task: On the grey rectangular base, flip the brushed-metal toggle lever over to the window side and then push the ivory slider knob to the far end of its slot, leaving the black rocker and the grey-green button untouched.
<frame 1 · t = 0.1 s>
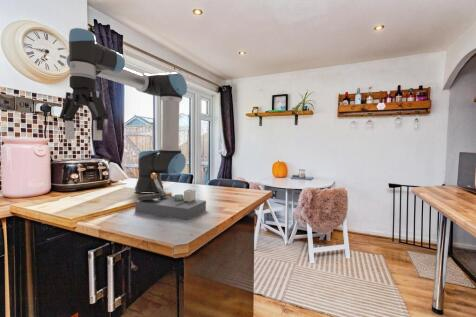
hand: (83, 139, 83), 28 cm above the worktop, fingers open, 13 cm apart
grey rectangular base: (171, 210, 97), on the worktop
lever: (158, 185, 101), point 10 cm above the worktop, hinge at -30.0°
slider: (189, 195, 98), point 6 cm above the worktop, slide at 0.0 cm
rocker: (149, 196, 96), point 6 cm above the worktop, hinge at 10.0°
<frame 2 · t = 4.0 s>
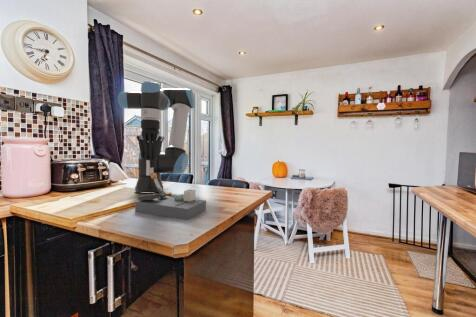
hand: (149, 175, 102), 14 cm above the worktop, fingers closed
lever: (158, 185, 101), point 10 cm above the worktop, hinge at -30.0°, touching gripper
everything else where it was.
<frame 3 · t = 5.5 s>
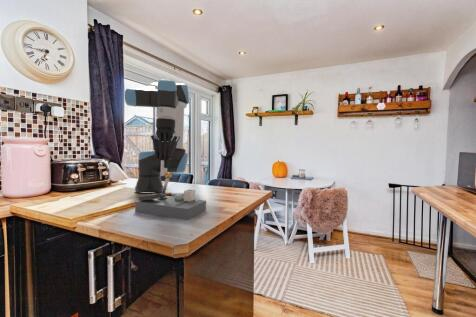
hand: (163, 175, 99), 14 cm above the worktop, fingers closed
lever: (165, 185, 99), point 10 cm above the worktop, hinge at 18.8°, touching gripper
everything else where it was.
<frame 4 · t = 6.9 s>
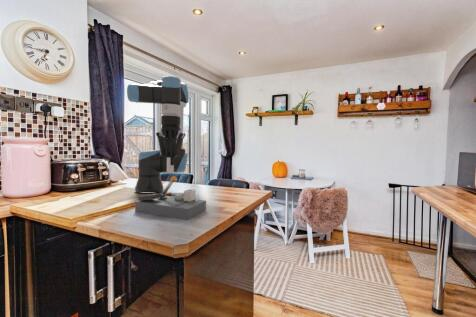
hand: (170, 172, 99), 15 cm above the worktop, fingers closed
lever: (168, 186, 99), point 9 cm above the worktop, hinge at 37.2°
everything else where it was.
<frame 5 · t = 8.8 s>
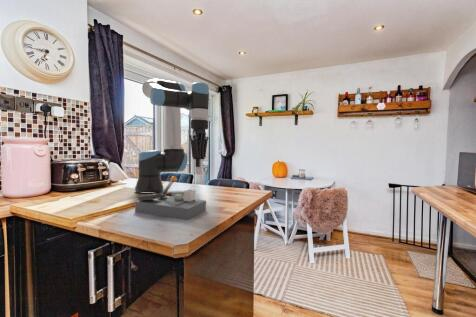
hand: (198, 174, 104), 14 cm above the worktop, fingers closed
nothing on the worktop moved.
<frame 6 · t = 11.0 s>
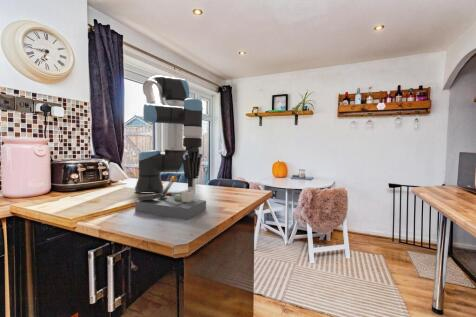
hand: (191, 194, 99), 7 cm above the worktop, fingers closed
slider: (187, 195, 97), point 6 cm above the worktop, slide at 1.5 cm, touching gripper
everything else where it was.
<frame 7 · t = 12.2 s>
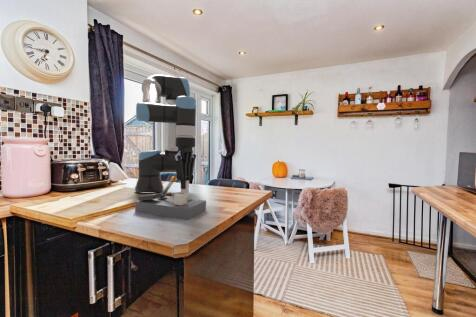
hand: (184, 196, 94), 6 cm above the worktop, fingers closed
slider: (180, 198, 92), point 6 cm above the worktop, slide at 6.6 cm, touching gripper
everything else where it was.
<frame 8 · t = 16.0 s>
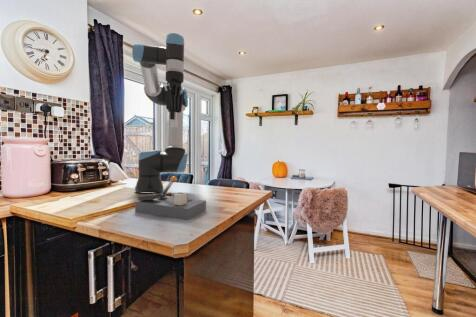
hand: (173, 127, 104), 34 cm above the worktop, fingers closed
slider: (180, 198, 92), point 6 cm above the worktop, slide at 6.7 cm
everything else where it was.
at the end: lever at +37° (first picture: -30°); slider slide at 6.7 cm; rocker at +10° (first picture: +10°) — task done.
